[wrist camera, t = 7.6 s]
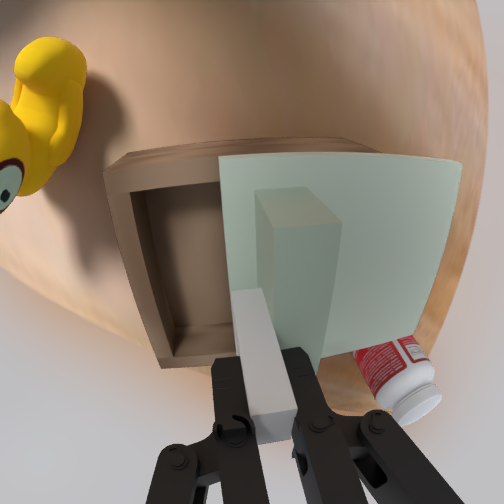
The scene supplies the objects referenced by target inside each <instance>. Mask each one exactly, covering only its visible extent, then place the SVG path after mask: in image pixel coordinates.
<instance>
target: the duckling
mask: <svg viewBox="0 0 504 504" xmlns="http://www.w3.org/2000/svg"><path fill="white" fill-rule="evenodd" d="M14 73H15V76H16V80H15V87H14V93H13V99H12V103H11V105H10V106H9V105H8V104H7V103H6V102H4V101H2V100H0V214H1V213H2V212H3V211H4V210H5V209H6V208H7V207H8V206H9V205H10V204H11V202H12V201H13V199H14V198H15V196H28V195H31V194H33V193H35V192H37V191H38V190H40V189H41V188H42V187H43V186H44V185H45V184H46V183H47V182H48V180H49V179H50V177H51V176H52V174H53V173H54V171H55V170H56V168H57V166H60V165H62V164H63V163H64V162H65V161H66V160H67V159H68V158H69V157H70V155H71V153H72V152H73V149H74V147H75V144H76V141H77V138H78V134H79V131H80V128H81V124H82V115H83V90H84V86H85V81H86V73H87V64H86V59H85V57H84V55H83V53H82V52H81V51H80V50H79V49H78V48H77V47H76V46H75V45H73V44H71V43H70V42H67V41H65V40H63V39H60V38H56V37H41V38H38V39H36V40H34V41H33V42H31V43H30V44H28V45H27V46H26V47H25V48H23V50H22V51H21V52H20V53H19V55H18V56H17V58H16V61H15V65H14Z"/></svg>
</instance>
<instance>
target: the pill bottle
mask: <svg viewBox="0 0 504 504" xmlns="http://www.w3.org/2000/svg"><path fill="white" fill-rule="evenodd" d="M351 352H352V354H353V356H354V358H355V360H356V362H357V364H358V366H359V368H360V370H361V372H362V374H363V376H364V378H365V380H366V382H367V384H368V386H369V388H370V390H371V392H372V394H373V396H374V398H375V400H376V402H377V404H378V405H379V406H380V407H382V408H384V409H393V411H392V417H393V418H394V419H395V421H396V422H397V423H398V424H399V425H400V427H403V426H406V425H409V424H411V423H413V422H415V421H417V420H418V419H420V418H421V417H423V416H424V415H426V414H427V413H428V412H430V411H431V410H432V409H433V408H434V407H435V406H436V405H437V404H438V403H439V402H440V401H441V399H442V394H441V393H440V391H439V389H438V387H437V386H436V384H432V381H433V379H434V375H435V369H434V366H433V365H432V363H431V362H430V360H429V358H428V357H427V356H426V354H425V353H424V351H423V350H422V348H421V347H420V346H419V344H418V343H417V341H416V340H415V338H414V337H413V336H412V335H410V336H406V337H403V338H400V339H396V340H393V341H389V342H386V343H382V344H379V345H375V346H371V347H367V348H363V349H359V350H355V351H351Z"/></svg>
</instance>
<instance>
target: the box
mask: <svg viewBox="0 0 504 504" xmlns="http://www.w3.org/2000/svg"><path fill="white" fill-rule="evenodd" d="M280 152H361V153H381V152H378V151H376V150H373V149H371V148H368V147H366V146H363V145H360V144H358V143H355V142H352V141H350V140H347V139H344V138H260V139H241V140H227V141H214V142H204V143H194V144H185V145H177V146H169V147H162V148H155V149H149V150H142V151H136V152H130V153H127V154H126V155H125V156H123V157H122V158H121V159H119V160H118V161H116V162H115V163H114V164H112V165H111V166H110V167H109V168H107V169H106V170H105V171H103V172H102V173H103V179H104V184H105V189H106V194H107V199H108V204H109V208H110V213H111V217H112V221H113V225H114V229H115V233H116V237H117V241H118V245H119V249H120V252H121V256H122V259H123V263H124V266H125V270H126V273H127V276H128V280H129V283H130V286H131V289H132V292H133V295H134V298H135V301H136V304H137V307H138V310H139V313H140V316H141V319H142V321H143V324H144V327H145V329H146V332H147V335H148V337H149V340H150V343H151V345H152V348H153V350H154V353H155V355H156V357H157V360H158V362H159V365H160V367H161V369H162V368H163V369H165V368H182V367H196V366H208V365H213V363H214V361H215V358H224V357H233V356H237V355H236V346H235V337H234V328H233V319H232V309H231V300H230V290H229V279H228V269H227V258H226V247H225V236H224V224H223V212H222V200H221V187H220V173H219V159H218V156H228V155H242V154H258V153H280Z"/></svg>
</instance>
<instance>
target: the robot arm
mask: <svg viewBox="0 0 504 504" xmlns="http://www.w3.org/2000/svg"><path fill="white" fill-rule="evenodd" d="M231 301H232V312H233V323H234V333H235V340H236V346H237V353H238V356H233V357H224V358H215V361H214V363H213V365H212V368H211V374H212V386H213V387H212V388H213V400H214V411H215V422H214V424H213V430H212V431H213V432H212V433H211V434H210V435H209V436H208V437H207V438H206V439H204V440H202V441H199V442H197V443H194V444H191V445H188V446H186V445H183V444H172V445H169V446H167V447H165V448H164V449H163V450H162V451H161V453H160V455H159V457H158V460H157V464H156V467H155V471H154V474H153V478H152V482H151V485H150V489H149V493H148V496H147V501H146V504H206V499H207V493H208V488H209V485H211V484H214V483H217V482H220V481H221V488H222V496H223V503H224V504H270V503H269V499H268V494H267V489H266V485H265V480H264V475H263V470H262V465H261V460H260V455H259V450H258V444H266V443H271V442H277V441H284V440H289V439H291V436H292V438H293V442H294V448H293V451H292V458H295V459H296V463H297V467H298V471H299V474H300V478H301V482H302V486H303V489H304V493H305V497H306V501H307V504H368V501H367V499H366V496H365V493H364V490H363V487H362V484H361V482H360V479H361V481H362V482H363V483H364V485H365V486H366V488H367V489H368V490H369V492H370V493H371V495H372V496H373V497H374V499H375V500H376V502H377V503H378V504H464V503H463V501H462V500H461V499H460V498H459V496H458V495H457V494H456V493H455V492H454V490H453V489H452V488H451V487H450V486H449V484H448V483H447V482H446V481H445V480H444V478H443V477H442V476H441V475H440V474H439V472H438V471H437V470H436V469H435V468H434V466H433V465H432V464H431V463H430V462H429V460H428V459H427V458H426V457H425V456H424V454H423V453H422V452H421V451H420V450H419V448H418V447H417V446H416V445H415V444H414V442H413V441H412V440H411V439H410V437H409V436H408V435H407V434H406V433H405V431H404V430H403V429H402V428H401V427H400V425H399V424H398V423H397V422H396V421H395V419H394V418H393V417H392V416H391V415H390V414H389V413H387V412H386V411H383V410H372V411H369V412H367V413H366V414H365V415H364V416H342V415H339V414H336V413H335V412H333V411H332V410H331V409H330V408H329V407H328V405H327V403H326V401H325V398H324V395H323V393H322V390H321V387H320V385H319V382H318V379H317V377H316V375H315V371H314V369H313V367H312V363H311V361H310V358H309V355H308V354H307V353H306V352H305V351H304V350H303V349H302V348H301V347H294V348H288V349H282V350H280V347H279V344H278V340H277V337H276V334H275V330H274V327H273V324H272V321H271V318H270V314H269V311H268V307H267V304H266V301H265V297H264V294H263V290H262V288H255V289H246V290H237V291H231ZM359 478H360V479H359Z"/></svg>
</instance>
